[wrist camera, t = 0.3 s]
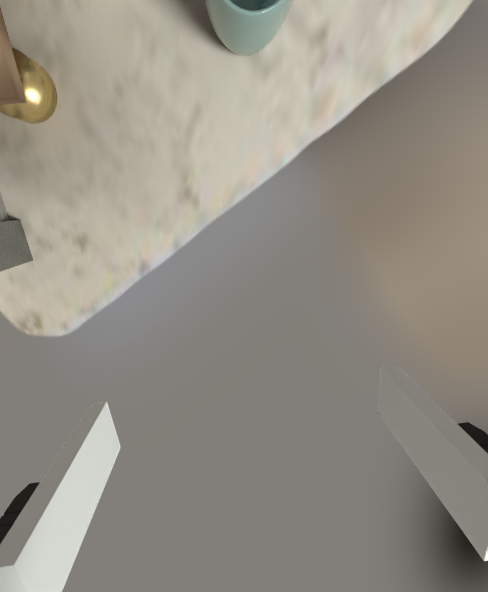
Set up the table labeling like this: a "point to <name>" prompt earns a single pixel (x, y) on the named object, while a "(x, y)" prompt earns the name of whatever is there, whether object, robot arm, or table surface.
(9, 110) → the gold metal dome
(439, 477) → the robot arm
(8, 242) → the grey toy mallet
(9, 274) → the table surface
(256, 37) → the cup
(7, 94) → the brown piece
